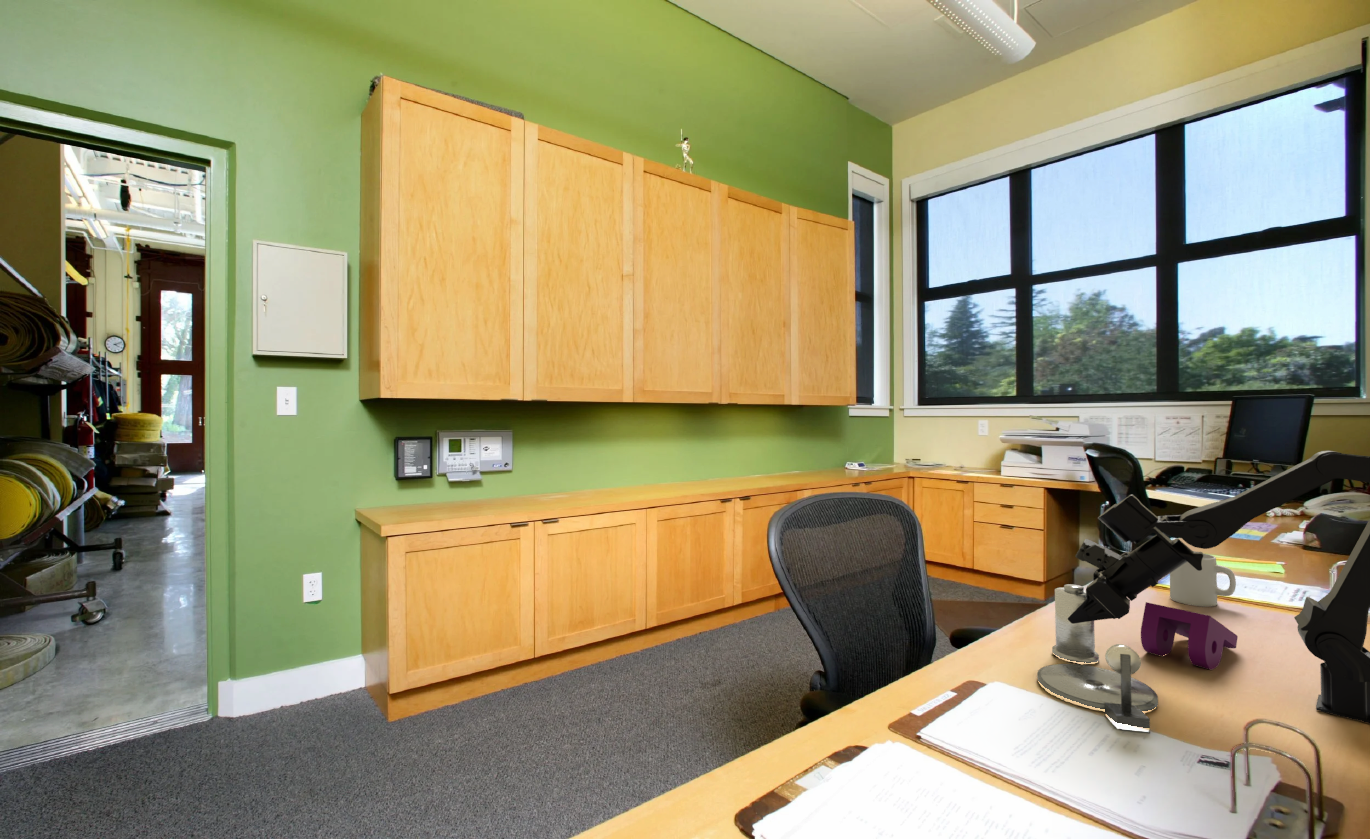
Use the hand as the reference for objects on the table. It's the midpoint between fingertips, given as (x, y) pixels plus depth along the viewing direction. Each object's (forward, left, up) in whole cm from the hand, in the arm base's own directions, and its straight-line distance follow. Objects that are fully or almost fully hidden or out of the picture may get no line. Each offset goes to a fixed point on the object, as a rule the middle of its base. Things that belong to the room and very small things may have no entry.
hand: (1073, 614), depth 109 cm
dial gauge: (-22, -13, -8) cm, 27 cm away
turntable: (-13, -7, -8) cm, 17 cm away
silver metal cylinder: (0, 0, -8) cm, 8 cm away
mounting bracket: (+18, -14, -8) cm, 24 cm away
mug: (+57, -10, -8) cm, 58 cm away
